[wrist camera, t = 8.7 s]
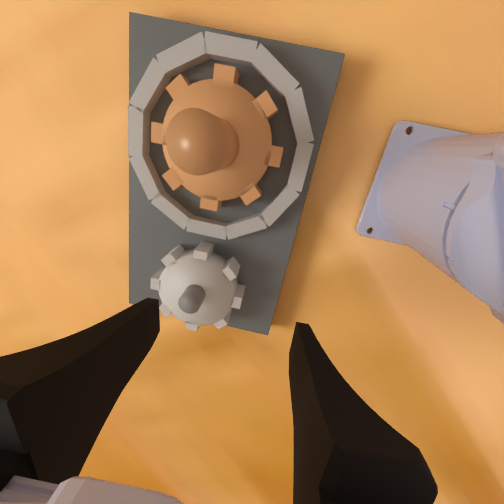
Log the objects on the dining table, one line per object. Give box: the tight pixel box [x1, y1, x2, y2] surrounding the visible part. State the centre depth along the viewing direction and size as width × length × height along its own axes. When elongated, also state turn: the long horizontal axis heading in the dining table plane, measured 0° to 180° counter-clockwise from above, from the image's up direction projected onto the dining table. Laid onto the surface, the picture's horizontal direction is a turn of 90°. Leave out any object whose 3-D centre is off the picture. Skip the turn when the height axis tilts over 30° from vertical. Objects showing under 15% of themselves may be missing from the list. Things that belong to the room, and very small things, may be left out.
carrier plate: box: [128, 12, 345, 335], centre depth 18 cm, size 13×21×5 cm, turn 168°
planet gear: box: [151, 63, 284, 211], centre depth 15 cm, size 8×8×6 cm
